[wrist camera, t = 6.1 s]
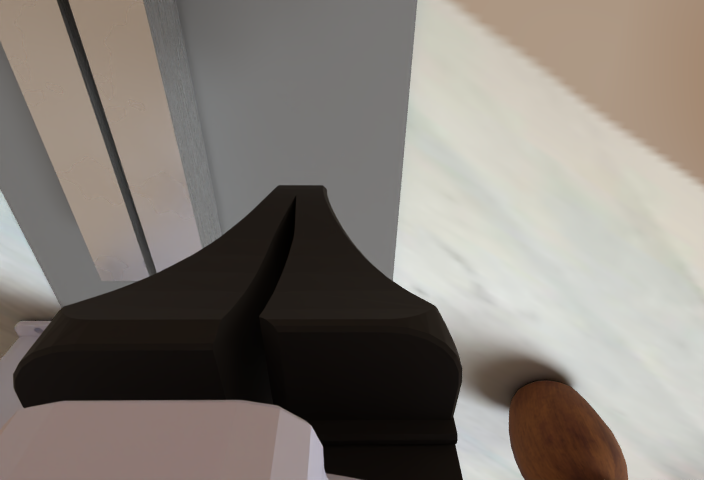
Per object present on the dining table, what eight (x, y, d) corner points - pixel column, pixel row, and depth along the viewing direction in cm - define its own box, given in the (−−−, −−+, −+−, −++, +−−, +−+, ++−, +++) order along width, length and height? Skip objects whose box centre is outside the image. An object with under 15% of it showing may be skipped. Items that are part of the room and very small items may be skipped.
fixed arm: (172, 244, 23) (151, 281, 21) (126, 244, 23) (99, 281, 21) (39, -231, 13) (-35, -273, 11) (-44, -234, 13) (-137, -276, 11)
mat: (75, 323, 27) (72, 328, 27) (-272, -364, 12) (-290, -373, 12) (388, 324, 28) (388, 328, 27) (445, -346, 12) (448, -353, 12)
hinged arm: (234, 292, 25) (222, 331, 23) (167, 292, 25) (146, 331, 22) (131, -233, 13) (79, -276, 10) (-1, -236, 13) (-87, -279, 10)
